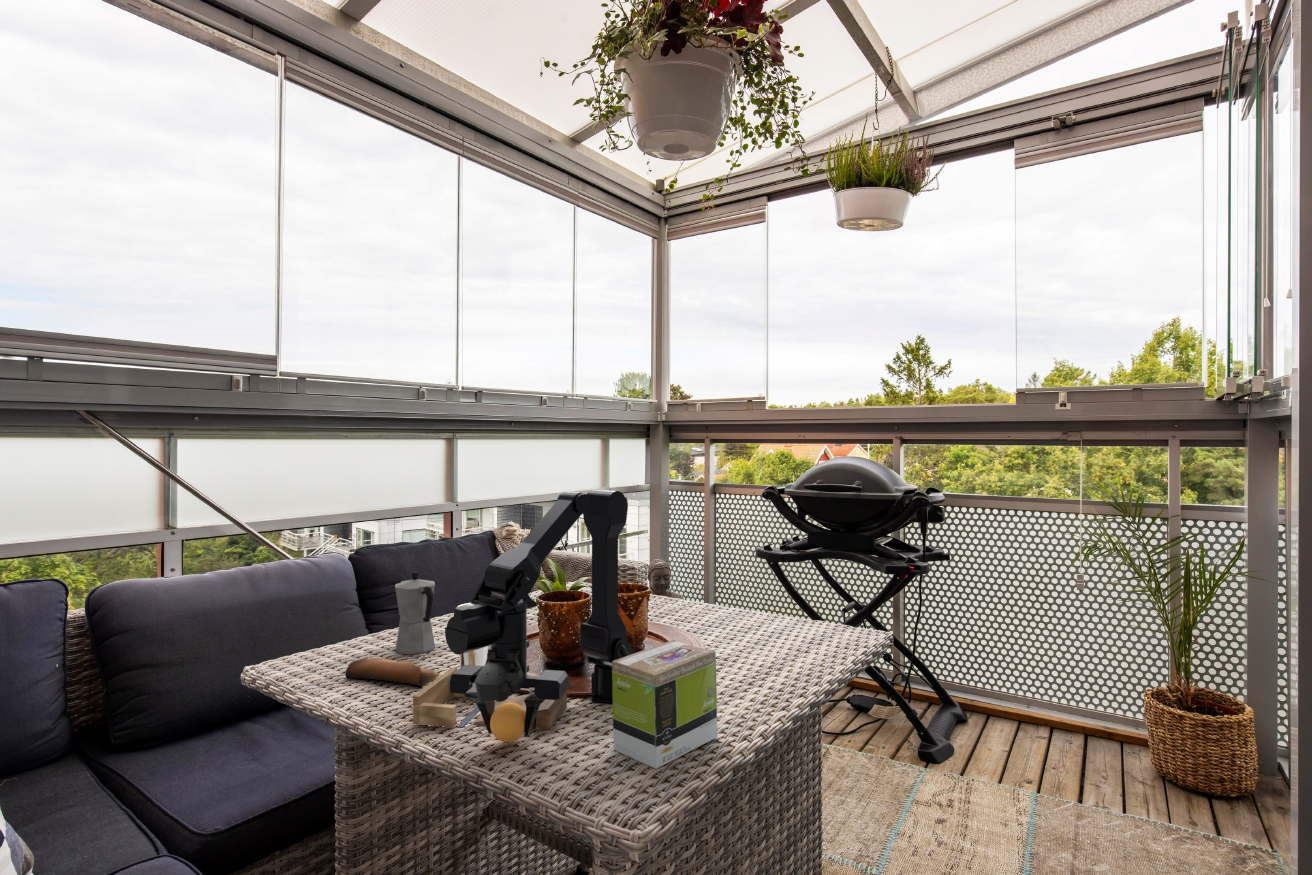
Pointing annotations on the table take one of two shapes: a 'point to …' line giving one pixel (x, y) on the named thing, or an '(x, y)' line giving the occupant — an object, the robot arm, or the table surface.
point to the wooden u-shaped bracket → (438, 704)
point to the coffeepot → (415, 615)
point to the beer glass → (473, 652)
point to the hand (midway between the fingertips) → (508, 733)
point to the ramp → (546, 711)
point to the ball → (508, 722)
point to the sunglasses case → (390, 671)
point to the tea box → (664, 702)
